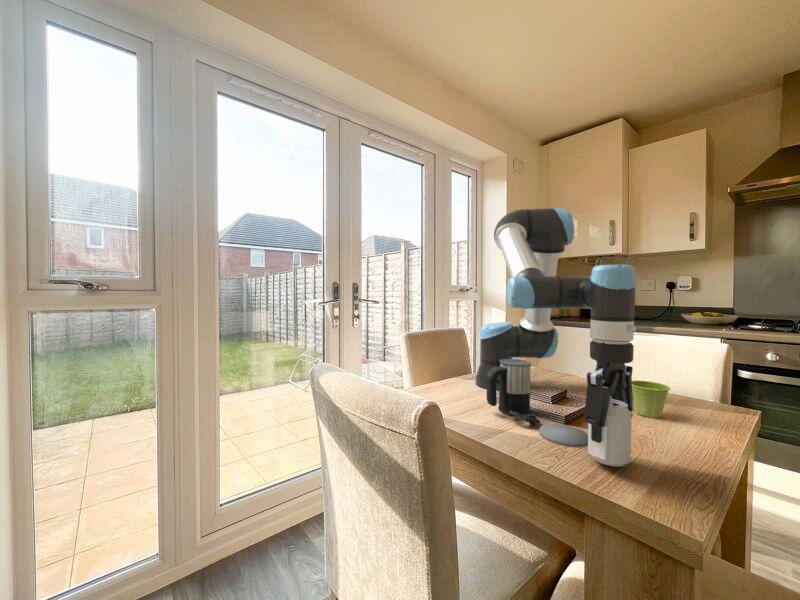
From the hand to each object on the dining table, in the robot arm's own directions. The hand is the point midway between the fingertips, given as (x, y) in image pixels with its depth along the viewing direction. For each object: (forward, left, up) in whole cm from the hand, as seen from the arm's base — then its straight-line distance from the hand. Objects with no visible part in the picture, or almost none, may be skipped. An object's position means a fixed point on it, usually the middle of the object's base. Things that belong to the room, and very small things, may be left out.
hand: (608, 451), depth 70 cm
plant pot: (-8, +39, -3) cm, 40 cm away
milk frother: (-27, +7, -3) cm, 28 cm away
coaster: (-13, +5, -3) cm, 14 cm away
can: (0, 0, -2) cm, 2 cm away
